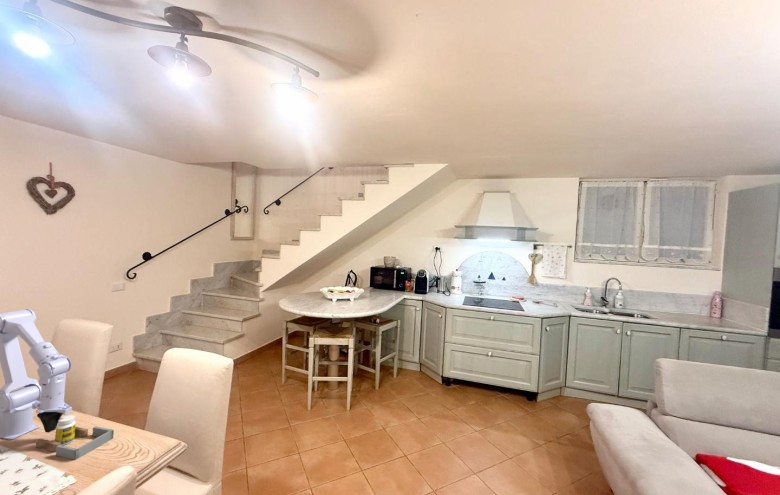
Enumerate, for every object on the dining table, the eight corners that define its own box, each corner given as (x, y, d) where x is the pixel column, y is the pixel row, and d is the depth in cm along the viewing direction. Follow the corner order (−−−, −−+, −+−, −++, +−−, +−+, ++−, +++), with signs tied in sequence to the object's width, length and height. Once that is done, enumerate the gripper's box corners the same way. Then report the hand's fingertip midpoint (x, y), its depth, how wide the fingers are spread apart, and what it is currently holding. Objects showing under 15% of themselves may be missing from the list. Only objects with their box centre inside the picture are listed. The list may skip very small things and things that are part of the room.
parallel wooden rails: (35, 447, 103) (36, 440, 103) (67, 431, 112) (67, 425, 112) (57, 451, 102) (57, 444, 102) (87, 435, 111) (88, 429, 111)
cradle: (55, 455, 100) (56, 446, 100) (94, 434, 112) (95, 426, 112) (75, 459, 99) (76, 450, 99) (113, 437, 111) (113, 429, 111)
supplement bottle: (61, 447, 104) (62, 423, 104) (50, 444, 105) (52, 420, 105) (78, 439, 109) (79, 415, 109) (68, 436, 110) (69, 413, 110)
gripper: (21, 395, 105) (18, 434, 105) (55, 401, 103) (52, 441, 103) (47, 386, 112) (44, 422, 112) (79, 391, 110) (77, 429, 110)
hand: (50, 430), depth 108 cm, fingers closed
